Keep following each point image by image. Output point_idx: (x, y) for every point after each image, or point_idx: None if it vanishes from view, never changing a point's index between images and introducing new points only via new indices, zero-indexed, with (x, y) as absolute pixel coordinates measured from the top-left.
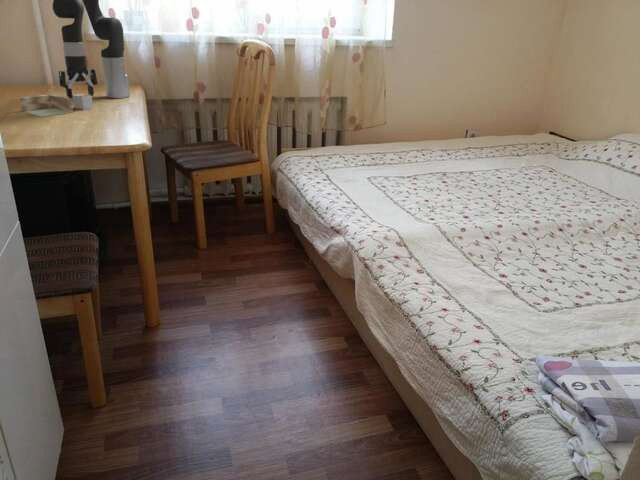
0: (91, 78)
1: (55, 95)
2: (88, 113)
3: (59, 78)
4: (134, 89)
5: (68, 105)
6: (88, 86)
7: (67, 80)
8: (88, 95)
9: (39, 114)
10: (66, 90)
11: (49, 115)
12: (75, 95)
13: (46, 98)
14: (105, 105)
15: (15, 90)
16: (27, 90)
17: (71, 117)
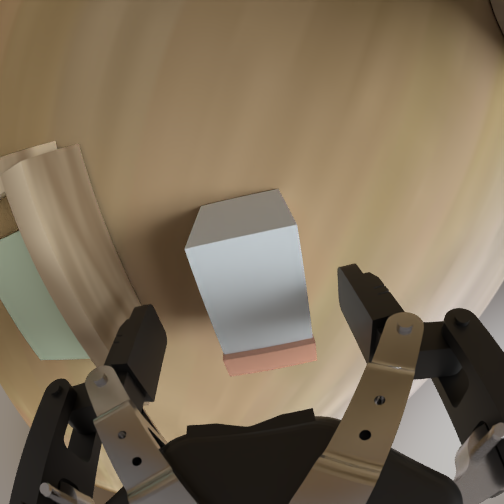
0: (470, 377)
1: (38, 228)
2: (228, 381)
3: (26, 448)
4: None
5: None
6: (376, 332)
7: (103, 433)
8: (294, 364)
9: (30, 334)
10: (109, 364)
11: (66, 357)
12: (204, 284)
13: (1, 194)
14: (411, 218)
15: None
16: None
17: (148, 406)
